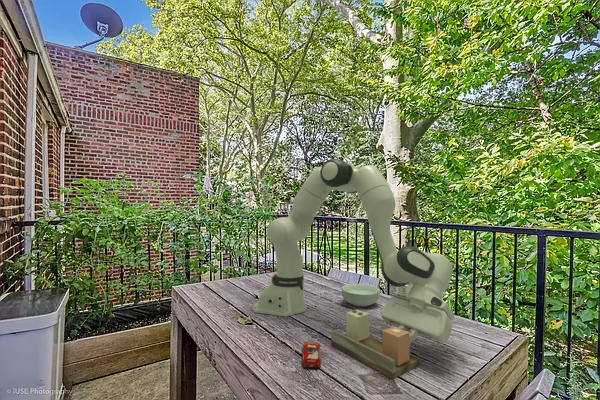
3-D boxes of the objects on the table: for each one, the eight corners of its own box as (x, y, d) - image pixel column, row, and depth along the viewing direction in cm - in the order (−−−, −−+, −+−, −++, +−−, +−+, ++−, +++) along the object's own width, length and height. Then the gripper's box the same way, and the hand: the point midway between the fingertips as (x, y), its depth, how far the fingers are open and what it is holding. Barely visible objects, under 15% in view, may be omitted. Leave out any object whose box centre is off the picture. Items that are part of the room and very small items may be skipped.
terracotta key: (393, 353, 86) (393, 325, 86) (409, 360, 82) (409, 331, 82) (382, 358, 83) (382, 329, 83) (398, 366, 79) (398, 335, 79)
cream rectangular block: (357, 332, 100) (357, 308, 100) (368, 337, 96) (368, 312, 96) (346, 336, 97) (346, 311, 97) (357, 341, 93) (357, 316, 93)
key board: (357, 335, 101) (358, 322, 102) (420, 364, 83) (420, 348, 83) (331, 345, 94) (331, 330, 94) (392, 379, 76) (392, 361, 76)
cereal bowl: (334, 300, 139) (334, 285, 139) (364, 296, 146) (364, 282, 146) (355, 312, 123) (355, 295, 124) (387, 307, 130) (387, 291, 130)
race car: (302, 347, 93) (302, 334, 93) (320, 348, 93) (320, 335, 93) (300, 370, 80) (300, 355, 80) (321, 371, 80) (321, 355, 80)
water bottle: (415, 319, 116) (415, 254, 117) (397, 318, 117) (397, 254, 118) (412, 313, 123) (412, 252, 123) (395, 312, 124) (395, 251, 125)
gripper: (388, 287, 97) (368, 325, 91) (452, 304, 81) (432, 351, 75) (397, 299, 100) (378, 336, 94) (460, 317, 83) (441, 364, 77)
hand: (402, 343), depth 84 cm, fingers closed, pressing on terracotta key
